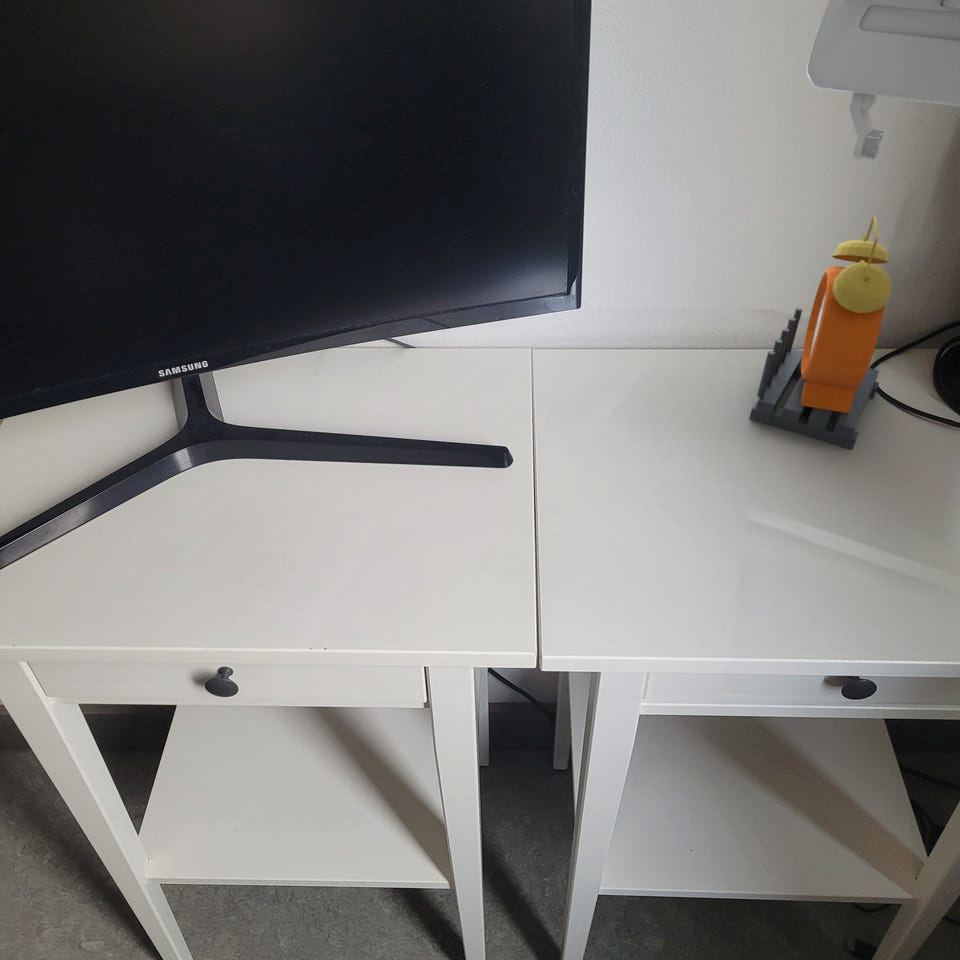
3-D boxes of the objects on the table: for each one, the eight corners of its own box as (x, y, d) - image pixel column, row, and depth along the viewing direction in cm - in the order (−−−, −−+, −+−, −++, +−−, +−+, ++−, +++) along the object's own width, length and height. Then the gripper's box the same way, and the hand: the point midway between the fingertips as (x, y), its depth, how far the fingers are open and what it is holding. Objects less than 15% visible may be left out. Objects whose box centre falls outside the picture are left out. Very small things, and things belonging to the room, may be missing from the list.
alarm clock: (798, 354, 104) (842, 200, 91) (849, 362, 103) (901, 206, 90) (795, 412, 94) (843, 248, 81) (851, 421, 93) (910, 256, 80)
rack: (876, 391, 103) (899, 328, 97) (851, 450, 94) (875, 385, 88) (780, 366, 108) (797, 304, 102) (748, 419, 98) (764, 355, 93)
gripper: (1211, -54, 48) (1099, 180, 57) (852, -73, 56) (802, 134, 65) (1220, -39, 44) (1097, 211, 53) (830, -62, 52) (781, 158, 61)
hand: (932, 168), depth 59 cm, fingers open, 8 cm apart
